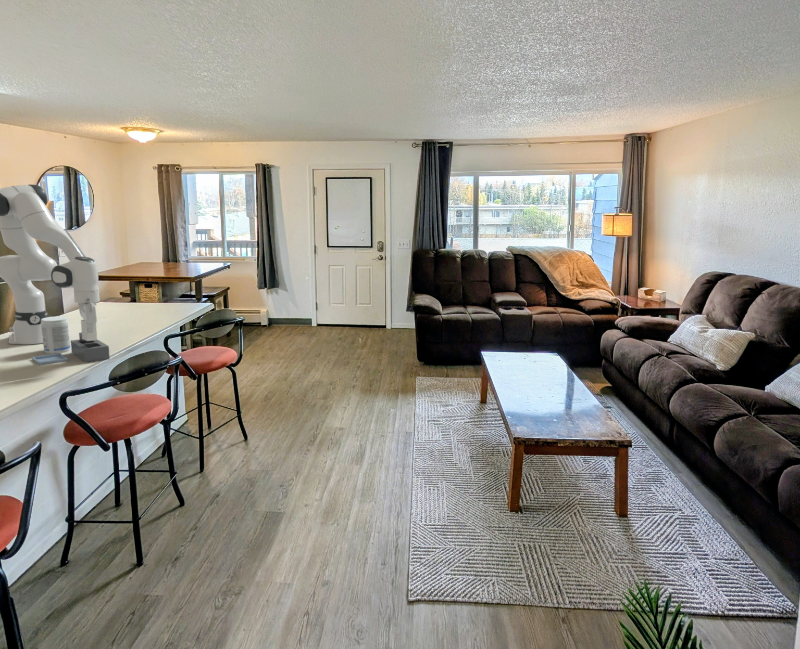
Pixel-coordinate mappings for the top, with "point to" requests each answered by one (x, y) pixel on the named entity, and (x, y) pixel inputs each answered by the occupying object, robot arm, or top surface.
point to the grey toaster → (89, 350)
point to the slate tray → (49, 359)
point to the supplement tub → (55, 334)
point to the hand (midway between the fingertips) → (89, 330)
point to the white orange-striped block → (85, 333)
